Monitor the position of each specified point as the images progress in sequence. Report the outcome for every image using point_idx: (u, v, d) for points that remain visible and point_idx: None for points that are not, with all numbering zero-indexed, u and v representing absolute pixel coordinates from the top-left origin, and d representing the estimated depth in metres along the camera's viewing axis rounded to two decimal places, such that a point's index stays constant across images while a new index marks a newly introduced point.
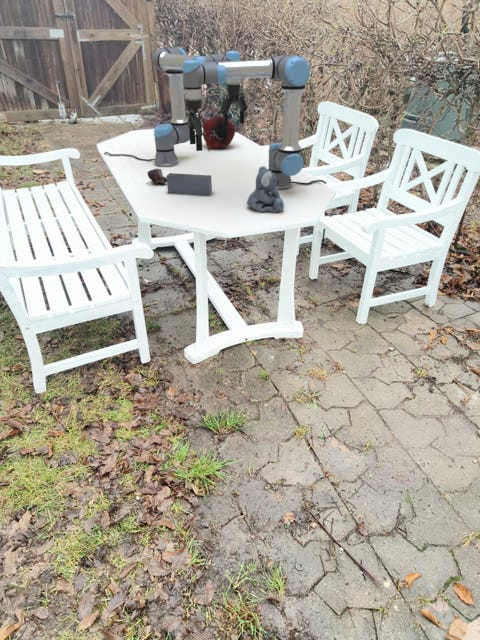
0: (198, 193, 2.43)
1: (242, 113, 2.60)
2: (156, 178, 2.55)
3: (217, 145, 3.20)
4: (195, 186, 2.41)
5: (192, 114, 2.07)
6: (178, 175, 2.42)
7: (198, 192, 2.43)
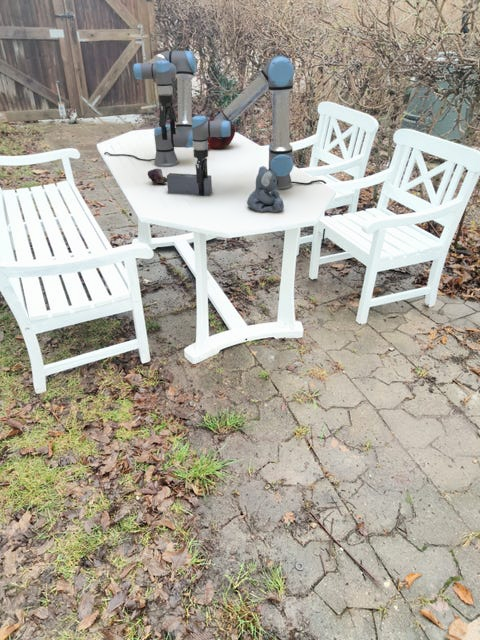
0: (198, 193, 2.43)
1: (173, 124, 2.51)
2: (156, 178, 2.55)
3: (217, 145, 3.20)
4: (195, 186, 2.41)
5: None
6: (178, 175, 2.42)
7: (198, 192, 2.43)
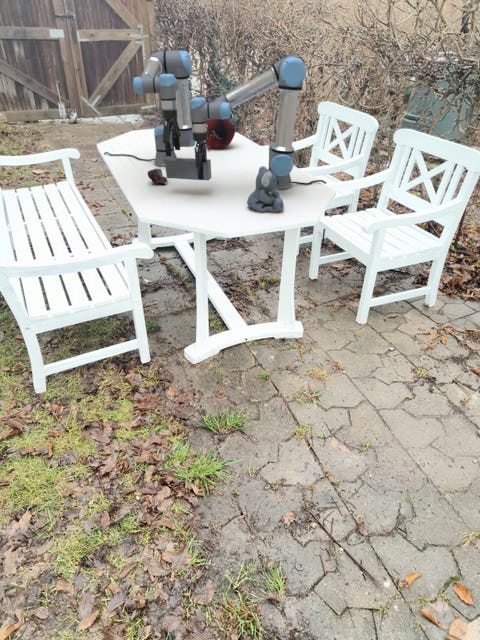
0: (197, 178, 2.38)
1: (177, 139, 2.39)
2: (156, 178, 2.55)
3: (217, 145, 3.20)
4: (194, 170, 2.36)
5: None
6: (177, 159, 2.37)
7: (197, 177, 2.38)
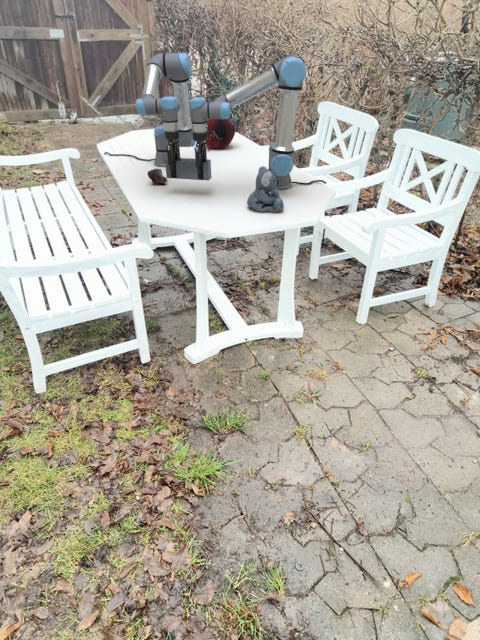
0: (197, 178, 2.38)
1: None
2: (156, 178, 2.55)
3: (217, 145, 3.20)
4: (194, 170, 2.36)
5: None
6: (177, 159, 2.37)
7: (197, 177, 2.38)
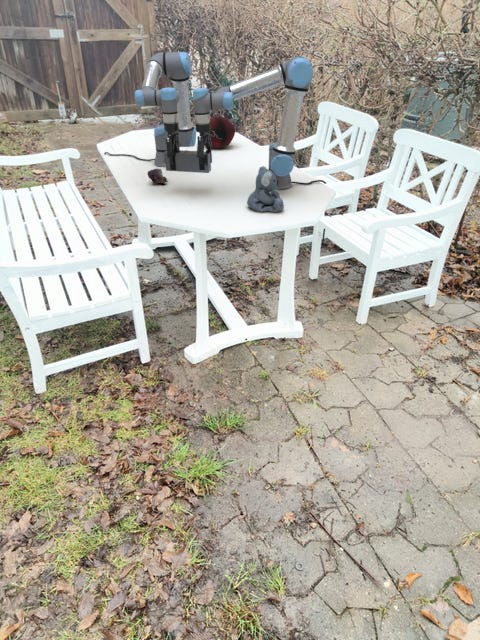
0: (196, 170, 2.36)
1: None
2: (156, 178, 2.55)
3: (217, 145, 3.20)
4: (194, 162, 2.34)
5: (207, 135, 2.29)
6: (176, 151, 2.35)
7: (197, 169, 2.36)
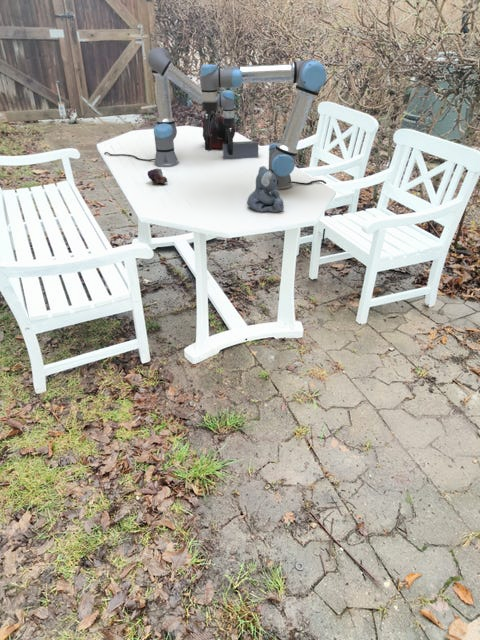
0: (249, 156, 3.04)
1: None
2: (156, 178, 2.55)
3: (217, 145, 3.20)
4: (247, 150, 3.02)
5: (213, 114, 2.23)
6: None
7: (249, 155, 3.04)
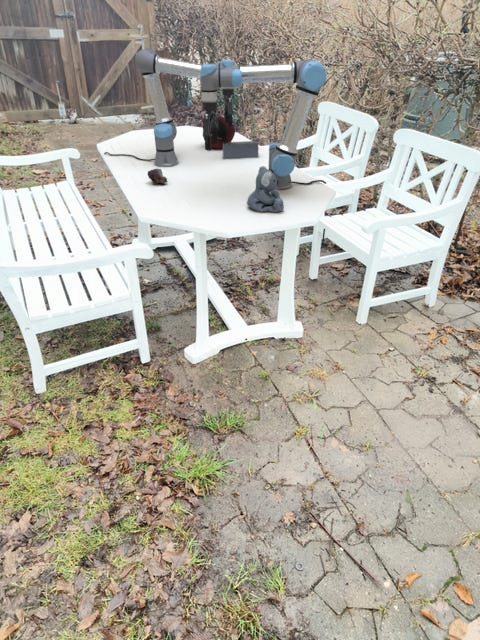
0: (249, 156, 3.04)
1: (228, 113, 2.96)
2: (156, 178, 2.55)
3: (217, 145, 3.20)
4: (247, 150, 3.02)
5: (213, 114, 2.23)
6: (232, 143, 3.00)
7: (249, 155, 3.04)
